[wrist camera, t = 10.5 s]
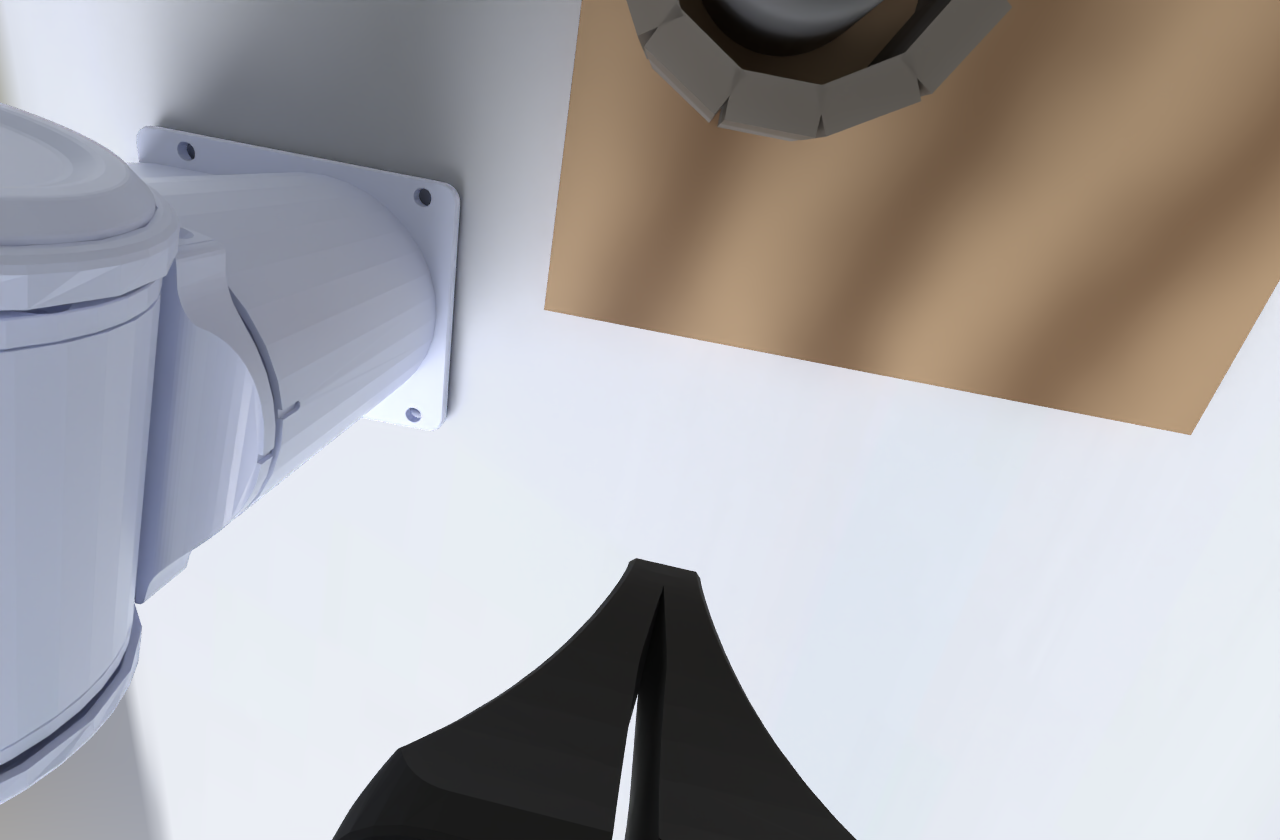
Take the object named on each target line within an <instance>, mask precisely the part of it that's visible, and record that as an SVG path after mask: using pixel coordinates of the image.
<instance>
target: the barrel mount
mask: <svg viewBox="0 0 1280 840" xmlns="http://www.w3.org/2000/svg"><path fill="white" fill-rule="evenodd" d="M1279 280H1280V0H884V1H882V2H881V3H880V4H879V5H877V6H876V7H875V8H874V9H872V10H871V11H870V12H869V13H867V14H866V15H865V16H864V17H862V18H861V19H860V20H859V21H858V22H856V23H855V24H854V25H853V26H851V27H850V28H849V29H848V30H846V31H845V32H844V33H843V34H841V35H840V36H838V37H837V38H836V39H834V40H833V41H831V42H830V43H828V44H826V45H824V46H822V47H820V48H818V49H815V50H813V51H810V52H808V53H804V54H799V55H795V56H783V57H780V56H768V55H764V54H759V53H756V52H753V51H751V50H748V49H746V48H744V47H742V46H741V45H739V44H737V43H735V42H734V41H733V40H732V39H730V38H729V37H728V36H726V35H725V34H724V33H723V32H722V31H721V30H720V29H719V27H718V26H717V25H716V24H715V23H714V21H713V20H712V18H711V17H710V16H709V14H708V12H707V11H706V9H705V7H704V5H703V3H702V1H701V0H582V4H581V12H580V20H579V28H578V36H577V45H576V53H575V61H574V69H573V77H572V86H571V94H570V102H569V110H568V118H567V127H566V135H565V143H564V151H563V159H562V168H561V176H560V184H559V192H558V200H557V209H556V217H555V225H554V233H553V241H552V250H551V258H550V266H549V274H548V282H547V291H546V299H545V307H544V310H548V311H553V312H558V313H564V314H569V315H574V316H579V317H584V318H589V319H594V320H600V321H605V322H610V323H615V324H620V325H625V326H631V327H636V328H641V329H646V330H651V331H656V332H662V333H667V334H672V335H677V336H682V337H687V338H693V339H698V340H703V341H708V342H713V343H718V344H724V345H729V346H734V347H739V348H744V349H749V350H754V351H760V352H765V353H770V354H775V355H780V356H785V357H791V358H796V359H801V360H806V361H811V362H816V363H822V364H827V365H832V366H837V367H842V368H847V369H853V370H858V371H863V372H868V373H873V374H878V375H884V376H889V377H894V378H899V379H904V380H909V381H914V382H920V383H925V384H930V385H935V386H940V387H945V388H951V389H956V390H961V391H966V392H971V393H976V394H982V395H987V396H992V397H997V398H1002V399H1007V400H1013V401H1018V402H1023V403H1028V404H1033V405H1038V406H1044V407H1049V408H1054V409H1059V410H1064V411H1069V412H1074V413H1080V414H1085V415H1090V416H1095V417H1100V418H1105V419H1111V420H1116V421H1121V422H1126V423H1131V424H1136V425H1142V426H1147V427H1152V428H1157V429H1162V430H1167V431H1173V432H1178V433H1183V434H1188V435H1191V434H1192V432H1193V430H1194V428H1195V427H1196V425H1197V423H1198V422H1199V420H1200V418H1201V416H1202V415H1203V413H1204V411H1205V409H1206V408H1207V406H1208V404H1209V402H1210V401H1211V399H1212V397H1213V395H1214V394H1215V392H1216V390H1217V388H1218V387H1219V385H1220V383H1221V381H1222V380H1223V378H1224V376H1225V374H1226V373H1227V371H1228V369H1229V367H1230V366H1231V364H1232V362H1233V360H1234V359H1235V357H1236V355H1237V353H1238V352H1239V350H1240V348H1241V346H1242V345H1243V343H1244V341H1245V339H1246V338H1247V336H1248V334H1249V332H1250V331H1251V329H1252V327H1253V326H1254V324H1255V322H1256V320H1257V319H1258V317H1259V315H1260V313H1261V312H1262V310H1263V308H1264V306H1265V305H1266V303H1267V301H1268V299H1269V298H1270V296H1271V294H1272V292H1273V291H1274V289H1275V287H1276V285H1277V284H1278V282H1279Z"/></svg>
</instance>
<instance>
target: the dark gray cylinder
mask: <svg viewBox="0 0 1280 840" xmlns="http://www.w3.org/2000/svg"><path fill="white" fill-rule="evenodd" d="M701 1H702V3H703V5H704V7H705V9H706V11H707V12H708V14H709V16H710V17H711V18H712V20H713V21H714V23H715V24H716V25H717V26H718V27H719V29H720V30H721V31H722V32H723V33H724V34H725V35H726V36H728V37H729V38H730V39H732V40H733V41H734V42H735V43H737V44H739V45H741V46H742V47H744V48H746V49H748V50H751V51H753V52H756V53H759V54H764V55H768V56H780V57H783V56H795V55H799V54H804V53H808V52H810V51H813V50H815V49H818V48H820V47H822V46H824V45H826V44H828V43H830V42H831V41H833V40H834V39H836V38H837V37H838V36H840V35H841V34H843V33H844V32H845V31H846V30H848V29H849V28H850V27H851V26H853V25H854V24H855V23H856V22H858V21H859V20H860V19H861V18H862V17H864V16H865V15H866V14H867V13H869V12H870V11H871V10H872V9H874V8H875V7H876V6H877V5H879V4H880V3H881V2H882V1H884V0H701Z"/></svg>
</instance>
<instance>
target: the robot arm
mask: <svg viewBox="0 0 1280 840" xmlns="http://www.w3.org/2000/svg"><path fill="white" fill-rule="evenodd" d="M189 143H190V144H191V146H192V147H193V148H194V151H195V158H194V159H192V158H191V157H190V156H189V155H188V152H187V146H188V144H189ZM137 148H138V157H139V163H125V162H124V161H123V160H122V159H121V158H120V157H118V156H117V155H115V154H114V153H113V152H111V151H110V150H109V149H107V148H105V147H104V146H102V145H100V144H99V143H97V142H95V141H93V140H91V139H90V138H88V137H86V136H84V135H82V134H80V133H77V132H75V131H73V130H71V129H69V128H66V127H64V126H62V125H59V124H57V123H55V122H52V121H50V120H47V119H45V118H42V117H39V116H37V115H34V114H31V113H29V112H26V111H23V110H21V109H18V108H15V107H12V106H9V105H6V104H3V103H0V804H2V803H4V802H6V801H7V800H9V799H11V798H12V797H14V796H16V795H18V794H19V793H21V792H23V791H24V790H26V789H28V788H29V787H31V786H32V785H33V784H35V783H36V782H37V781H39V780H40V779H42V778H43V777H44V776H46V775H47V774H49V773H50V772H51V771H53V770H54V769H56V768H57V767H58V766H60V765H61V764H62V763H64V762H65V761H66V760H67V759H68V758H69V757H70V756H71V755H73V754H74V753H75V752H76V751H77V750H78V749H79V748H80V747H82V746H83V745H84V744H85V743H86V742H87V741H88V740H89V739H90V738H91V737H92V736H93V735H94V734H95V733H96V732H97V731H98V729H99V728H100V727H101V726H102V725H103V724H104V722H105V721H106V720H107V719H108V718H109V717H110V715H111V714H112V713H113V712H114V710H115V708H116V707H117V705H118V703H119V702H120V700H121V698H122V697H123V695H124V694H125V692H126V691H127V689H128V687H129V685H130V683H131V680H132V678H133V675H134V672H135V669H136V667H137V664H138V659H139V650H140V642H141V631H142V626H141V623H140V620H139V616H138V613H137V610H136V607H135V604H134V599H135V603H137V604H142V603H144V602H145V601H146V600H147V599H149V598H150V597H151V596H152V595H153V594H155V593H156V592H157V591H158V590H160V589H161V588H162V587H163V586H164V585H166V584H167V583H168V582H169V581H170V580H172V579H173V578H174V577H175V576H177V575H178V574H179V573H180V572H181V571H183V570H184V569H185V568H186V566H187V563H188V559H189V555H190V553H191V551H192V550H193V549H195V548H196V547H198V546H199V545H201V544H202V543H204V542H205V541H207V540H208V539H210V538H211V537H212V536H214V535H215V534H216V533H218V532H219V531H220V530H222V529H223V528H224V527H225V526H226V525H228V524H229V523H230V522H231V521H232V520H234V519H235V518H236V517H237V516H239V515H240V514H242V513H243V512H244V511H245V510H247V509H248V508H249V507H250V506H252V505H253V504H254V503H255V502H257V501H258V500H259V499H260V498H262V497H263V496H264V495H265V494H267V493H268V492H269V491H270V490H272V489H273V488H274V487H275V486H277V485H278V484H279V483H280V482H282V481H283V480H284V479H285V478H287V477H288V476H289V475H290V474H292V473H293V472H294V471H295V470H297V469H298V468H299V467H300V466H302V465H303V464H304V463H305V462H307V461H308V460H309V459H310V458H312V457H313V456H314V455H315V454H317V453H318V452H319V451H320V450H322V449H323V448H324V447H325V446H327V445H328V444H329V443H330V442H332V441H333V440H334V439H335V438H337V437H338V436H339V435H340V434H342V433H343V432H344V431H345V430H347V429H348V428H349V427H350V426H352V425H353V424H354V423H355V422H357V421H358V420H359V419H360V418H365V419H370V420H375V421H380V422H385V423H391V424H396V425H401V426H406V427H411V428H417V429H422V430H427V431H434V430H436V429H439V427H440V426H441V425H442V424H443V423H444V422H445V419H446V414H447V398H448V383H449V367H450V352H451V337H452V321H453V306H454V290H455V275H456V260H457V244H458V229H459V213H460V198H459V195H458V193H457V191H456V189H455V188H454V187H453V186H452V185H450V184H447V183H445V182H440V181H435V180H430V179H425V178H420V177H415V176H410V175H404V174H399V173H394V172H389V171H384V170H379V169H374V168H369V167H363V166H358V165H353V164H348V163H343V162H338V161H333V160H327V159H322V158H317V157H312V156H307V155H302V154H297V153H292V152H286V151H281V150H276V149H271V148H266V147H261V146H256V145H251V144H245V143H240V142H235V141H230V140H225V139H220V138H215V137H209V136H204V135H199V134H194V133H189V132H184V131H179V130H174V129H168V128H163V127H155V126H145V127H143V128H142V129H140V130H139V132H138V134H137ZM422 188H424V189H427V190H428V191H429V193H430V194H431V199H432V200H431V203H430V204H429V205H428V206H426V205H424V204H423V203H422V202H421V201H420V199H419V193H420V190H421V189H422ZM410 408H415V409H418V411H419V412H420V413H421V418H417V417H415V416H413V415H412V413H411V411H410ZM637 695H638V702H637V714H636V726H635V739H634V752H633V765H632V777H631V790H630V803H629V811H628V820H627V828H626V834H625V840H856V839H855V838H854V837H853V836H852V835H851V834H850V833H849V832H848V831H847V830H846V829H845V828H844V826H843V825H842V824H841V823H840V822H839V821H838V820H837V819H836V818H835V817H834V816H833V815H832V814H831V813H830V811H829V810H828V809H827V808H826V807H825V806H824V804H823V803H822V802H821V801H820V800H819V799H818V798H817V796H816V795H815V794H814V793H813V792H812V791H811V789H810V788H809V787H808V786H807V785H806V783H805V782H804V781H803V780H802V778H801V777H800V776H799V774H798V773H797V772H796V770H795V769H794V768H793V766H792V765H791V764H790V762H789V761H788V760H787V758H786V757H785V756H784V754H783V753H782V752H781V750H780V749H779V748H778V746H777V745H776V743H775V742H774V740H773V739H772V737H771V736H770V734H769V733H768V731H767V730H766V728H765V727H764V725H763V723H762V722H761V720H760V718H759V717H758V715H757V714H756V712H755V710H754V709H753V707H752V705H751V703H750V702H749V700H748V698H747V696H746V694H745V693H744V691H743V689H742V687H741V685H740V683H739V681H738V679H737V677H736V675H735V673H734V671H733V669H732V667H731V665H730V663H729V660H728V658H727V656H726V654H725V651H724V649H723V647H722V644H721V642H720V639H719V637H718V634H717V632H716V629H715V627H714V624H713V621H712V619H711V616H710V613H709V610H708V607H707V604H706V601H705V597H704V594H703V590H702V586H701V581H700V577H699V576H698V574H697V573H696V572H694V571H689V570H685V569H681V568H676V567H672V566H668V565H663V564H659V563H655V562H650V561H646V560H642V559H637V558H636V559H634V560H632V561H630V562H629V564H628V567H627V569H626V571H625V572H624V574H623V576H622V578H621V579H620V581H619V582H618V584H617V585H616V586H615V588H614V589H613V591H612V592H611V593H610V595H609V596H608V597H607V598H606V600H605V601H604V602H603V603H602V604H601V606H600V607H599V608H598V609H597V611H596V612H595V613H594V614H593V615H592V616H591V617H590V619H589V620H588V621H587V622H586V623H585V624H584V625H583V626H582V627H581V628H580V629H579V630H578V631H577V632H576V633H575V634H574V635H573V636H572V637H571V638H570V639H569V640H568V641H567V642H566V643H565V644H564V645H563V646H562V647H561V648H560V649H559V650H558V651H556V652H555V653H554V654H553V655H552V656H551V657H550V658H548V659H547V660H546V661H545V662H544V663H542V664H541V665H540V666H539V667H538V668H536V669H535V670H534V671H532V672H531V673H530V674H528V675H527V676H526V677H524V678H523V679H522V680H520V681H519V682H518V683H516V684H515V685H514V686H512V687H511V688H509V689H508V690H506V691H505V692H503V693H502V694H500V695H499V696H497V697H496V698H494V699H493V700H491V701H489V702H488V703H486V704H484V705H482V706H481V707H479V708H477V709H476V710H474V711H472V712H471V713H469V714H467V715H466V716H464V717H462V718H461V719H459V720H457V721H455V722H453V723H452V724H450V725H448V726H446V727H444V728H442V729H439V730H437V731H435V732H433V733H431V734H429V735H427V736H425V737H423V738H421V739H419V740H416V741H414V742H412V743H410V744H408V745H406V746H403V747H401V748H399V749H397V751H396V752H395V753H394V754H393V755H392V756H391V757H390V758H389V760H388V761H387V762H386V763H385V764H384V765H383V767H382V768H381V769H380V770H379V771H378V773H377V774H376V775H375V776H374V778H373V779H372V780H371V782H370V783H369V784H368V785H367V787H366V788H365V789H364V791H363V792H362V793H361V795H360V796H359V797H358V799H357V800H356V801H355V803H354V804H353V806H352V807H351V809H350V810H349V812H348V814H347V815H346V817H345V819H344V820H343V822H342V824H341V825H340V827H339V829H338V831H337V832H336V834H335V836H334V837H333V839H332V840H612V836H613V829H614V822H615V814H616V807H617V800H618V792H619V785H620V778H621V771H622V765H623V758H624V751H625V745H626V738H627V732H628V726H629V723H630V719H631V716H632V712H633V709H634V705H635V702H636V698H637Z"/></svg>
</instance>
